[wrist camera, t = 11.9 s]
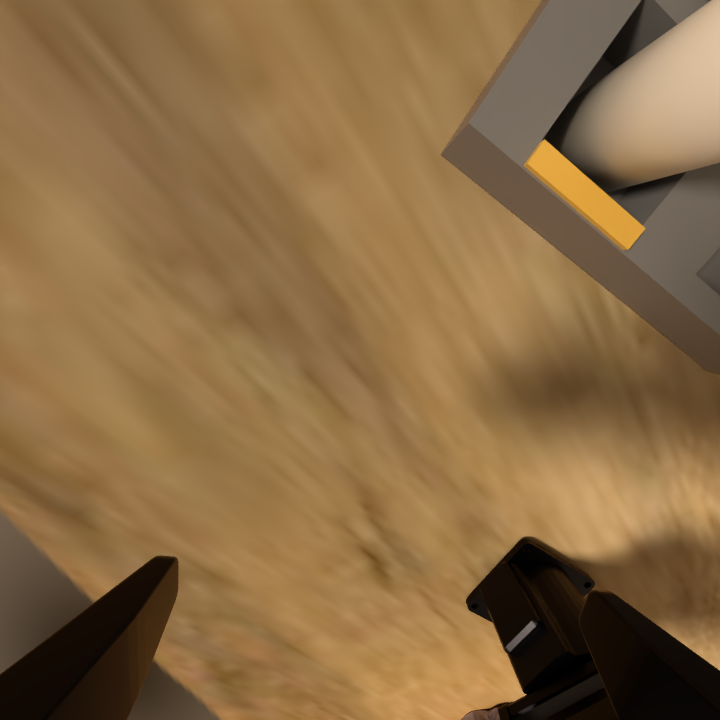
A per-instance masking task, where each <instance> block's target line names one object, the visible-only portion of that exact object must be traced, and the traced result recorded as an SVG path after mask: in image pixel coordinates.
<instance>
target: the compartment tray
mask: <svg viewBox="0 0 720 720" xmlns="http://www.w3.org/2000/svg"><path fill="white" fill-rule="evenodd" d="M710 1H711V0H542V2H541V3H540V5H539V6H538V8H537V9H536V11H535V12H534V14H533V15H532V17H531V18H530V20H529V21H528V23H527V24H526V26H525V27H524V29H523V30H522V32H521V33H520V35H519V37H518V38H517V40H516V41H515V43H514V44H513V46H512V47H511V49H510V50H509V52H508V53H507V55H506V56H505V58H504V59H503V61H502V62H501V64H500V65H499V67H498V68H497V70H496V71H495V73H494V75H493V76H492V78H491V79H490V81H489V82H488V84H487V85H486V87H485V88H484V90H483V91H482V93H481V94H480V96H479V97H478V99H477V100H476V102H475V103H474V105H473V106H472V108H471V109H470V111H469V113H468V114H467V116H466V117H465V119H464V120H463V122H462V123H461V125H460V126H459V128H458V129H457V131H456V132H455V134H454V135H453V137H452V138H451V140H450V141H449V143H448V144H447V146H446V147H445V149H444V151H443V152H442V154H441V155H442V156H443V157H444V158H446V159H447V160H448V161H449V162H450V163H452V164H453V165H454V166H455V167H457V168H458V169H459V170H460V171H462V172H463V173H464V174H465V175H466V176H468V177H469V178H470V179H471V180H473V181H474V182H475V183H476V184H478V185H479V186H480V187H481V188H483V189H484V190H485V191H486V192H487V193H489V194H490V195H491V196H492V197H494V198H495V199H496V200H497V201H499V202H500V203H501V204H502V205H503V206H505V207H506V208H507V209H508V210H510V211H511V212H512V213H513V214H515V215H516V216H517V217H518V218H520V219H521V220H522V221H523V222H524V223H526V224H527V225H528V226H529V227H531V228H532V229H533V230H534V231H536V232H537V233H538V234H539V235H541V236H542V237H543V238H544V239H545V240H547V241H548V242H549V243H550V244H552V245H553V246H554V247H555V248H557V249H558V250H559V251H560V252H561V253H563V254H564V255H565V256H566V257H568V258H569V259H570V260H571V261H573V262H574V263H575V264H576V265H578V266H579V267H580V268H581V269H582V270H584V271H585V272H586V273H587V274H589V275H590V276H591V277H592V278H594V279H595V280H596V281H597V282H598V283H600V284H601V285H602V286H603V287H605V288H606V289H607V290H608V291H610V292H611V293H612V294H613V295H615V296H616V297H617V298H618V299H619V300H621V301H622V302H623V303H624V304H626V305H627V306H628V307H629V308H631V309H632V310H633V311H634V312H636V313H637V314H638V315H639V316H640V317H642V318H643V319H644V320H645V321H647V322H648V323H649V324H650V325H652V326H653V327H654V328H655V329H656V330H658V331H659V332H660V333H661V334H663V335H664V336H665V337H666V338H668V339H669V340H670V341H671V342H673V343H674V344H675V345H676V346H677V347H679V348H680V349H681V350H682V351H684V352H685V353H686V354H687V355H689V356H690V357H691V358H692V359H694V360H695V361H696V362H697V363H698V364H700V365H701V366H702V367H703V368H705V369H706V370H707V371H710V372H713V373H717V374H720V163H717V164H713V165H709V166H705V167H701V168H698V169H694V170H690V171H686V172H683V173H679V174H675V175H671V176H667V177H664V178H660V179H656V180H652V181H648V182H645V183H641V184H637V185H633V186H629V187H626V188H622V189H618V190H614V191H610V192H607V193H605V192H604V191H603V190H602V189H601V188H599V187H598V186H597V185H596V184H595V183H594V182H593V181H591V180H590V179H589V178H588V177H587V176H586V175H585V174H584V173H582V172H581V171H580V170H579V169H578V168H577V167H576V166H574V165H573V164H572V163H571V162H570V161H569V160H568V159H566V158H565V157H564V156H563V155H562V154H561V153H560V152H559V151H557V150H556V149H555V148H554V147H553V146H552V145H551V144H549V143H548V142H547V141H546V136H547V132H548V131H549V129H550V128H551V126H552V125H553V124H554V122H555V121H556V119H557V118H558V117H559V115H560V114H561V112H562V111H563V110H564V108H565V107H566V105H567V104H568V103H569V101H571V100H572V99H573V98H575V97H576V96H578V95H579V94H580V93H582V92H583V91H585V90H586V89H587V88H589V87H590V86H592V85H593V84H594V83H596V82H597V81H599V80H600V79H601V78H603V77H604V76H606V75H607V74H608V73H610V72H611V71H613V70H614V69H615V68H617V67H618V66H620V65H621V64H623V63H624V62H625V61H627V60H628V59H630V58H631V57H632V56H634V55H635V54H637V53H638V52H639V51H641V50H642V49H644V48H645V47H646V46H648V45H649V44H651V43H652V42H653V41H655V40H656V39H658V38H659V37H660V36H662V35H663V34H665V33H666V32H667V31H669V30H670V29H672V28H673V27H675V26H676V25H677V24H679V23H680V22H682V21H683V20H684V19H686V18H687V17H689V16H690V15H691V14H693V13H694V12H696V11H697V10H698V9H700V8H701V7H703V6H704V5H705V4H707V3H708V2H710Z"/></svg>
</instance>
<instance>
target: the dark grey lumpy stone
mask: <svg viewBox="0 0 720 720" xmlns="http://www.w3.org/2000/svg"><path fill="white" fill-rule="evenodd" d="M462 720H500V717H499V713H498V708H497V707H496V708H493V709H491V710H489V711H486V710H477V711H472V712H470V713H468V714H466V715H465V716H464V717H463V718H462Z"/></svg>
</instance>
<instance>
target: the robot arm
mask: <svg viewBox="0 0 720 720" xmlns="http://www.w3.org/2000/svg"><path fill="white" fill-rule="evenodd" d="M526 547H527V548H526ZM594 585H595V583H594V581H593V579H592V578H591V577H590V576H589V575H588V574H586V573H584V572H583V571H581V570H579V569H578V568H576V567H574V566H573V565H571V564H569V563H568V562H566V561H564V560H562V559H561V558H559V557H557V556H556V555H554V554H552V553H551V552H549V551H547V550H546V549H544V548H542V547H541V546H539V545H537V544H535V543H534V542H532V541H530V540H528V539H523V540H521V541H520V542H518V543H517V545H516V546H515V547H514V548H513V549H512V550H511V551H510V552H509V553H508V554H507V555H506V556H505V558H504V559H503V560H502V561H501V562H500V563H499V564H498V565H497V566H496V567H495V568H494V569H493V571H492V572H491V573H490V574H489V575H488V576H487V577H486V578H485V579H484V580H483V581H482V582H481V584H480V585H479V586H478V587H477V588H476V589H475V590H474V591H473V592H472V593H471V594H470V595H469V597H468V598H467V599H466V604H467V607H468V609H469V610H470V611H471V612H473V613H475V614H477V615H479V616H481V617H483V618H485V619H487V620H489V621H490V622H492V623H493V624H494V627H495V629H496V632H497V634H498V636H499V639H500V641H501V644H502V646H503V649H504V651H505V652H506V653H507V654H508V657H509V659H510V662H511V664H512V666H513V669H514V671H515V674H516V676H517V678H518V681H519V683H520V686H521V688H522V690H523V692H524V693H525V694H527V695H525V696H524V697H522V698H520V699H518V700H516V701H515V702H513V703H511V704H509V705H508V704H504V705H502V706H501V707H499V708H498V713H499V717H500V720H720V671H719V670H718V669H717V668H715V667H714V666H712V665H711V664H710V663H708V662H707V661H706V660H704V659H703V658H701V657H700V656H699V655H697V654H696V653H695V652H693V651H692V650H691V649H689V648H688V647H686V646H685V645H684V644H682V643H681V642H680V641H678V640H677V639H675V638H674V637H673V636H671V635H670V634H669V633H667V632H666V631H664V630H663V629H662V628H660V627H659V626H658V625H656V624H655V623H653V622H652V621H651V620H649V619H648V618H647V617H645V616H644V615H643V614H641V613H640V612H638V611H637V610H636V609H634V608H633V607H632V606H630V605H629V604H627V603H626V602H625V601H623V600H622V599H621V598H619V597H618V596H616V595H615V594H614V593H612V592H609V591H601V590H592V591H591V592H589V591H590V590H591V589H592V588H593V587H594ZM588 592H589V594H588V596H587V599H585V598H584V596H585V595H586V594H587V593H588ZM177 593H178V559H177V558H176V557H171V556H156V557H154V558H152V559H151V560H150V561H148V562H147V563H146V564H144V565H143V566H142V567H141V568H139V569H138V570H137V571H135V572H134V573H133V574H131V575H130V576H129V577H127V578H126V579H125V580H123V581H122V582H121V583H119V584H118V585H117V586H116V587H114V588H113V589H112V590H110V591H109V592H108V593H106V594H105V595H104V596H102V597H101V598H100V599H98V600H97V601H96V602H94V603H93V604H92V605H91V606H89V607H88V608H87V609H85V610H84V611H83V612H81V613H80V614H79V615H77V616H76V617H75V618H74V619H72V620H71V621H70V622H68V623H67V624H66V625H64V626H63V627H62V628H60V629H59V630H58V631H56V632H55V633H54V634H53V635H51V636H50V637H48V638H47V639H46V640H45V641H43V642H42V643H41V644H40V645H38V646H37V647H35V648H34V649H33V650H31V651H30V652H29V653H27V654H26V655H25V656H24V657H22V658H21V659H20V660H18V661H17V662H16V663H14V664H13V665H12V666H10V667H9V668H8V669H6V670H5V671H4V672H2V673H1V674H0V720H127V718H128V716H129V714H130V712H131V710H132V708H133V706H134V703H135V701H136V699H137V697H138V695H139V692H140V690H141V688H142V685H143V683H144V680H145V678H146V675H147V673H148V670H149V668H150V665H151V662H152V660H153V657H154V655H155V652H156V650H157V647H158V644H159V642H160V639H161V637H162V634H163V632H164V629H165V626H166V624H167V621H168V619H169V616H170V613H171V611H172V608H173V606H174V603H175V600H176V597H177Z"/></svg>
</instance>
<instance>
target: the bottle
mask: <svg viewBox="0 0 720 720" xmlns="http://www.w3.org/2000/svg"><path fill="white" fill-rule="evenodd" d="M546 141H547V142H548V143H549V144H551V145H552V146H553V147H554V148H555V149H556V150H557V151H559V152H560V153H561V154H562V155H563V156H564V157H565V158H566V159H568V160H569V161H570V162H571V163H572V164H573V165H574V166H576V167H577V168H578V169H579V170H580V171H581V172H582V173H584V174H585V175H586V176H587V177H588V178H589V179H590V180H591V181H593V182H594V183H595V184H596V185H597V186H598V187H599V188H601V189H602V190H603V191H604V192H605V193H607V192H610V191H614V190H618V189H622V188H626V187H629V186H633V185H637V184H641V183H645V182H648V181H652V180H656V179H660V178H664V177H667V176H671V175H675V174H679V173H683V172H686V171H690V170H694V169H698V168H701V167H705V166H709V165H713V164H717V163H720V0H711V1H710V2H708V3H707V4H705V5H704V6H703V7H701V8H700V9H698V10H697V11H696V12H694V13H693V14H691V15H690V16H689V17H687V18H686V19H684V20H683V21H682V22H680V23H679V24H677V25H676V26H675V27H673V28H672V29H670V30H669V31H667V32H666V33H665V34H663V35H662V36H660V37H659V38H658V39H656V40H655V41H653V42H652V43H651V44H649V45H648V46H646V47H645V48H644V49H642V50H641V51H639V52H638V53H637V54H635V55H634V56H632V57H631V58H630V59H628V60H627V61H625V62H624V63H623V64H621V65H620V66H618V67H617V68H615V69H614V70H613V71H611V72H610V73H608V74H607V75H606V76H604V77H603V78H601V79H600V80H599V81H597V82H596V83H594V84H593V85H592V86H590V87H589V88H587V89H586V90H585V91H583V92H582V93H580V94H579V95H578V96H576V97H575V98H573V99H572V100H571V101H569V103H568V104H567V105H566V107H565V108H564V110H563V111H562V112H561V114H560V115H559V117H558V118H557V119H556V121H555V122H554V124H553V125H552V126H551V128H550V129H549V131H548V132H547V136H546Z"/></svg>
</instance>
